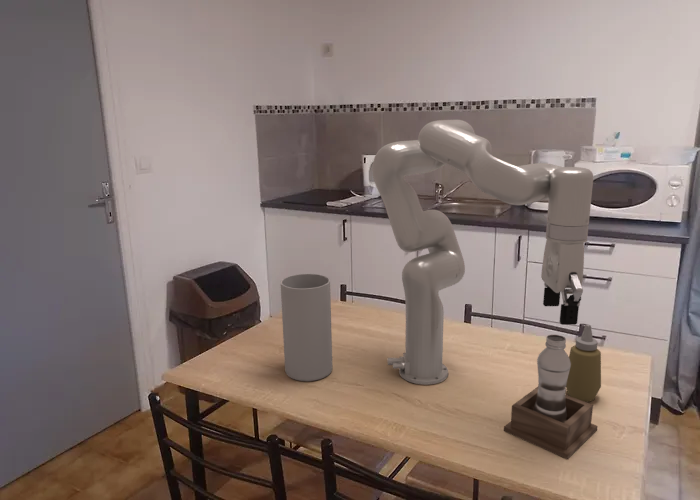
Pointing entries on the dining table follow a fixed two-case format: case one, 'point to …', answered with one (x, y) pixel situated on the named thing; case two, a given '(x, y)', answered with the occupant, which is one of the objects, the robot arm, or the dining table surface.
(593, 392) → the squeeze bottle
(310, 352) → the cylinder vase
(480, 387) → the dining table surface
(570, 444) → the bottle caddy
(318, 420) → the dining table surface
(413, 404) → the dining table surface
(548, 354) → the plastic bottle
